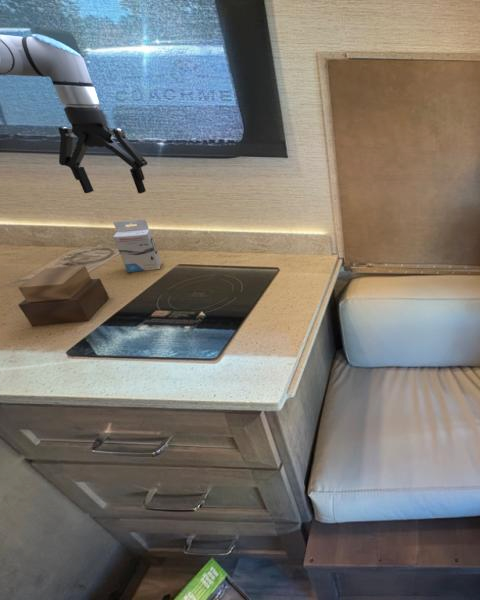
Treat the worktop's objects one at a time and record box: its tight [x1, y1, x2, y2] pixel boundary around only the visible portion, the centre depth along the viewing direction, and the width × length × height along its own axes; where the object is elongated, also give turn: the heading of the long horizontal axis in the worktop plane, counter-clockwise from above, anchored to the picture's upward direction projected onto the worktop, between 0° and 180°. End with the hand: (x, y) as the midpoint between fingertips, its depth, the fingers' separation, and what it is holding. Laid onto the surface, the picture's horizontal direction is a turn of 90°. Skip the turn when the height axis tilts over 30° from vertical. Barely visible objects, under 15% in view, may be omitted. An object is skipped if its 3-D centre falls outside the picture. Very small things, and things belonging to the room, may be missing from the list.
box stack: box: [17, 265, 110, 327], centre depth 80 cm, size 11×11×10 cm
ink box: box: [112, 219, 162, 273], centre depth 101 cm, size 8×5×15 cm, turn 115°
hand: (116, 192), depth 94 cm, fingers open, 13 cm apart
